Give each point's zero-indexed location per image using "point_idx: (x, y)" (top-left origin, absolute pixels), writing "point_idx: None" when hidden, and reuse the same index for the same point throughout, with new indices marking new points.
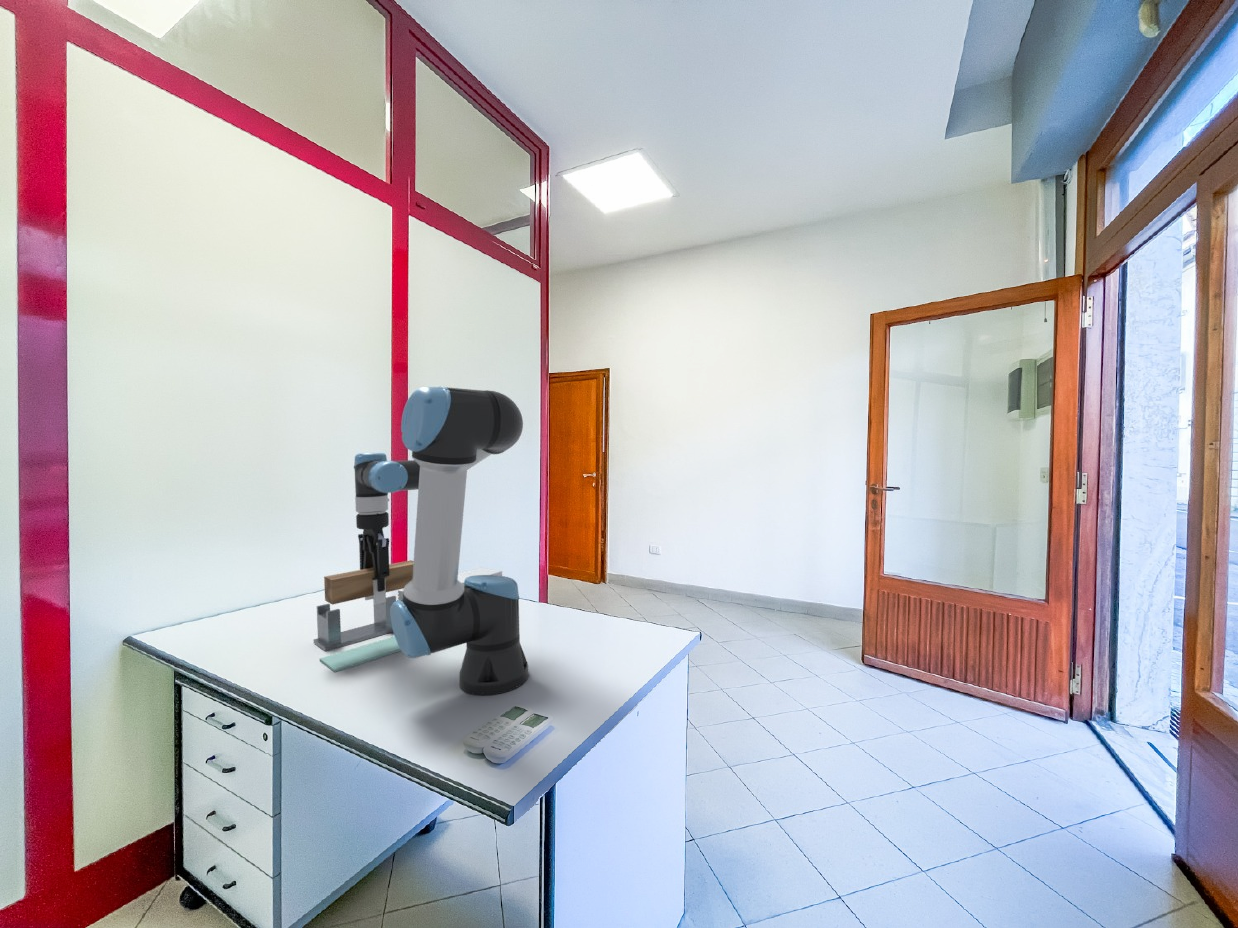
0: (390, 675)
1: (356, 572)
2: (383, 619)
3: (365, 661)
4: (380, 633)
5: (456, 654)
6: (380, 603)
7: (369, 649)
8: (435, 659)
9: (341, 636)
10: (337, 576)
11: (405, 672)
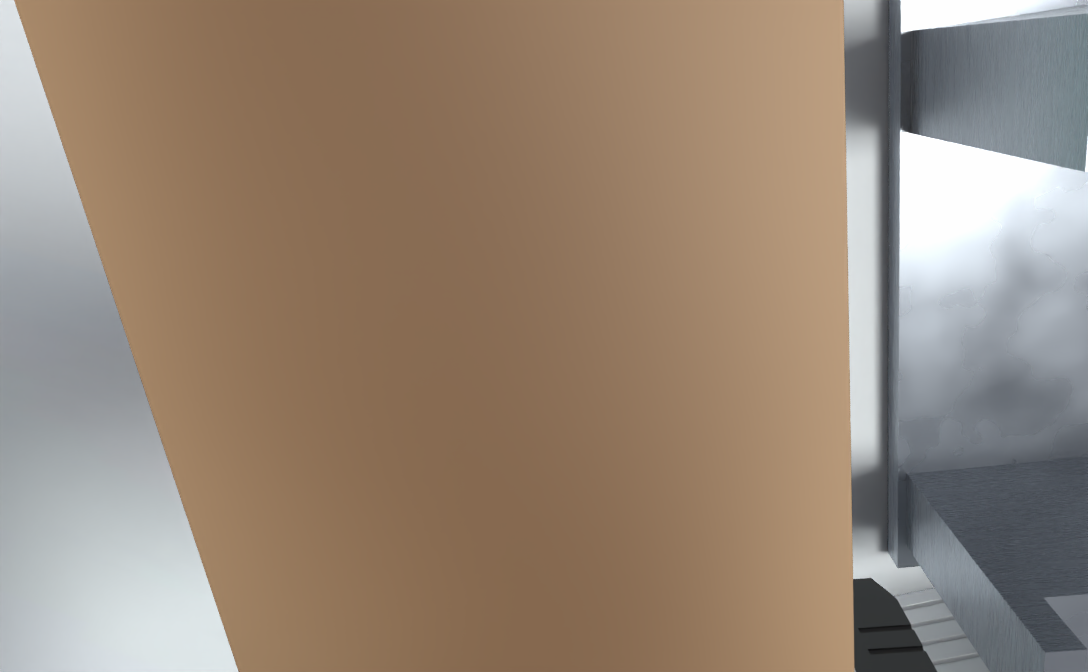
0: (93, 262)
1: (564, 631)
2: (995, 507)
3: None
4: (893, 423)
5: (187, 628)
6: None
7: None
8: (184, 526)
9: (1072, 169)
10: (397, 25)
11: (88, 342)
